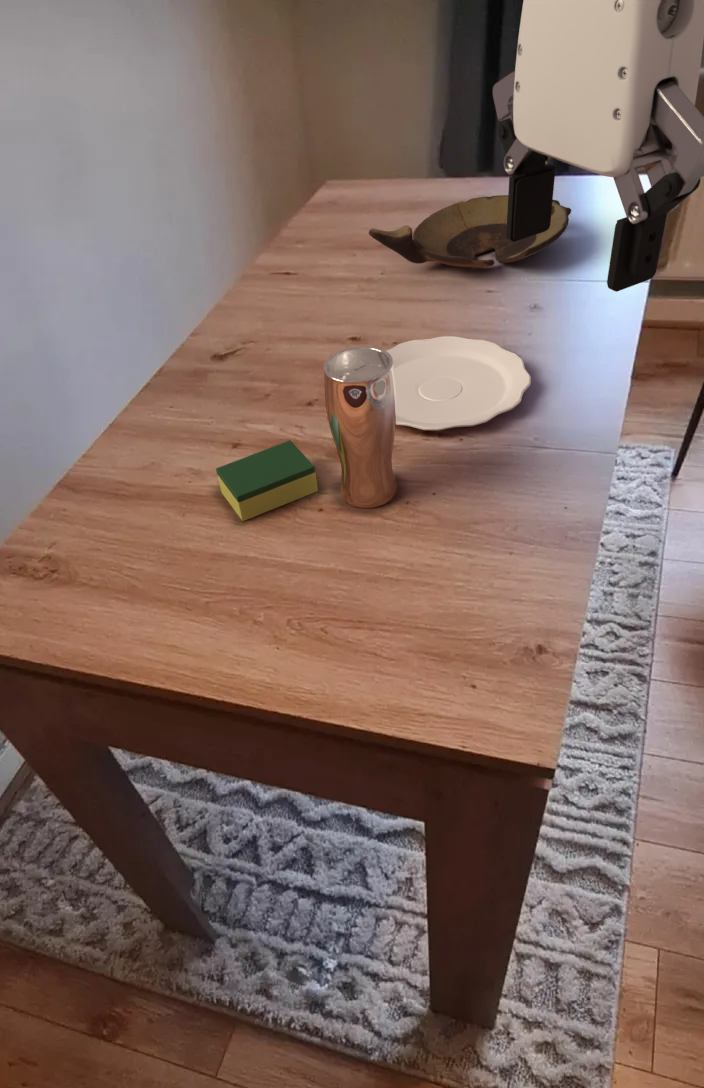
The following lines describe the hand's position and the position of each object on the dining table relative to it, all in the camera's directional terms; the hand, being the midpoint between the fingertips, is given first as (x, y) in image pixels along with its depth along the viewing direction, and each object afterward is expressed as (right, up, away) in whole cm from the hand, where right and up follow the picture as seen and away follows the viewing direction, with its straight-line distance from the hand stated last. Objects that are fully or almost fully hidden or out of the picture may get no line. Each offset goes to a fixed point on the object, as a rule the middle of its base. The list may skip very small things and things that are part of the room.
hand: (576, 257), depth 50 cm
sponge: (-22, -10, +36) cm, 44 cm away
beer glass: (-11, -10, +35) cm, 38 cm away
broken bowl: (+7, +31, +73) cm, 80 cm away
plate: (-1, +4, +47) cm, 47 cm away
